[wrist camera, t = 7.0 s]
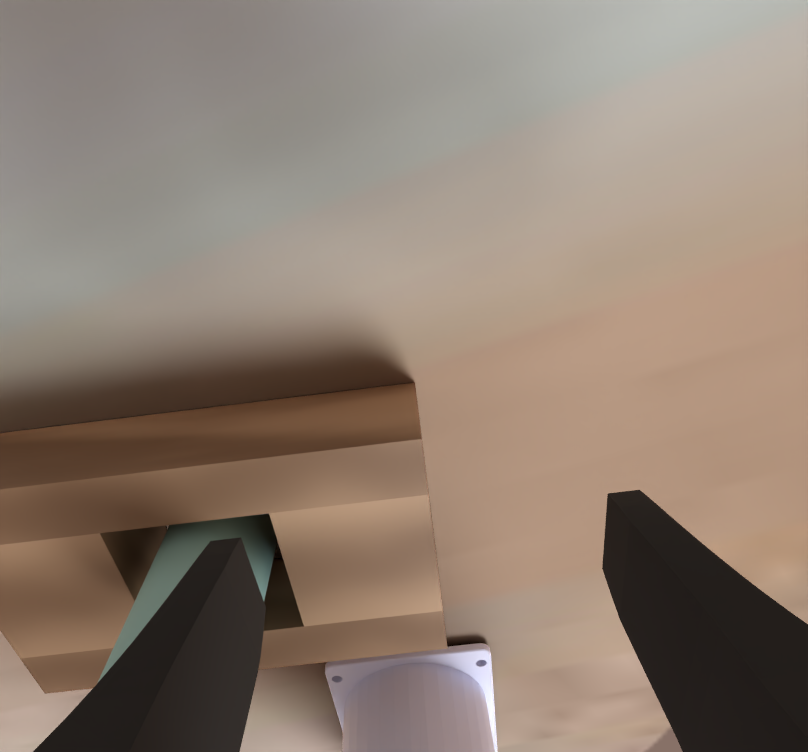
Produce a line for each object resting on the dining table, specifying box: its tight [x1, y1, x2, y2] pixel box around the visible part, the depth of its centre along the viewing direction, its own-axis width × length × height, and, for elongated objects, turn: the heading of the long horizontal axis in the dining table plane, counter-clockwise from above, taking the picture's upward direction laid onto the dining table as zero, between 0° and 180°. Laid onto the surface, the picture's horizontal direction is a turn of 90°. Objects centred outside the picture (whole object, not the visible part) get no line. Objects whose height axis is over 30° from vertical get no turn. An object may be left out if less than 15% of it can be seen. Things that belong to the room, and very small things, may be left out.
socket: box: [0, 383, 448, 693], centre depth 21 cm, size 10×16×4 cm, turn 97°
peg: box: [98, 513, 277, 682], centre depth 19 cm, size 4×4×8 cm
